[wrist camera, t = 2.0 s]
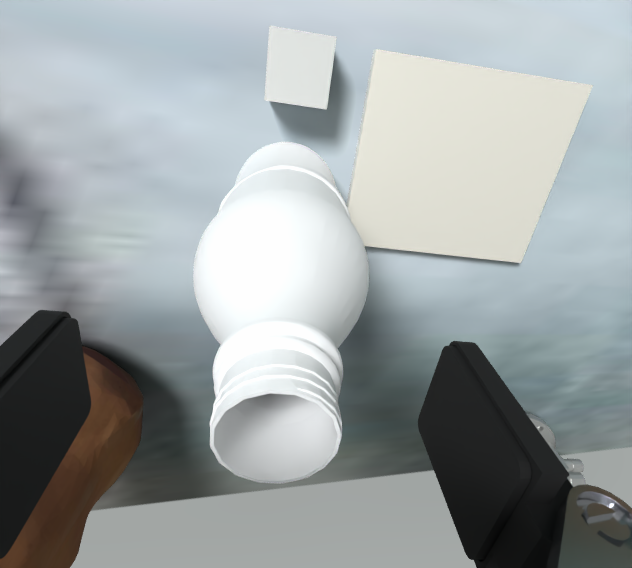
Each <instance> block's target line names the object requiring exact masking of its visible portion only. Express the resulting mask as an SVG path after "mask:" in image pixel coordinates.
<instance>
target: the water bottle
mask: <svg viewBox="0 0 632 568" xmlns="http://www.w3.org/2000/svg"><path fill="white" fill-rule="evenodd" d="M193 283H194V290H195V297H196V300H197V303H198V306H199V308H200V311H201V314H202V316H203V318H204V320H205V322H206V323H207V325H208V327H209V329H210V330H211V332H212V334H213V336H214V337H215V338H216V339H217V341H218V342H219V343H220V345H221V346H220V347H219V349H218V352H217V354H216V356H215V360H214V365H213V381H214V390H215V395H216V400H215V402H214V405H213V413H212V416H211V420H210V447H211V449H212V451H213V452H214V454H215V456H216V458H217V460H218V461H219V463H220V464H222V465H223V466H224V467H226V468H227V469H228V470H230V471H231V472H232V473H234V474H235V475H237V476H240V477H243V478H246V479H249V480H252V481H255V482H259V483H287V482H291V481H296V480H300V479H305V478H307V477H309V476H310V475H312V474H314V473H316V472H318V471H319V470H321V469H323V468H325V466H326V465H327V464H328V463H329V462H330V461H331V459H332V458H333V457H334V456H335V455H336V454H337V452H338V448H339V443H340V440H341V438H342V420H341V413H340V409H339V404H338V398H339V394H340V391H341V384H342V379H343V363H342V359H341V356H340V352H339V350H338V348H339V346H340V345H341V344H342V343H343V341H344V340H345V339H346V338H347V336H348V335H349V333H350V332H351V330H352V329H353V327H354V326H355V324H356V323H357V321H358V319H359V317H360V314H361V312H362V309H363V307H364V305H365V302H366V298H367V293H368V288H369V264H368V258H367V253H366V250H365V247H364V243H363V240H362V238H361V237H360V235H359V233H358V231H357V229H356V227H355V226H354V225H353V224H352V222H351V218H350V214H349V211H348V208H347V206H346V203H345V201H344V199H343V197H342V195H341V194H340V192H339V190H338V189H337V188H336V185H335V181H334V178H333V175H332V173H331V171H330V169H329V167H328V166H327V164H326V163H325V161H324V160H323V159H322V158H321V157H320V156H319V155H318V154H317V153H315V152H314V151H313V150H311V149H310V148H308V147H306V146H304V145H301V144H298V143H294V142H277V143H272V144H269V145H266V146H264V147H262V148H260V149H259V150H258V151H256V152H255V153H254V154H252V155H251V156H250V157H249V159H248V160H247V161H246V162H245V164H244V165H243V167H242V169H241V170H240V172H239V174H238V177H237V180H236V183H235V186H234V187H233V188H232V189H231V190H230V192H229V193H228V194H227V195H226V197H225V198H224V200H223V201H222V203H221V205H220V208H219V211H218V215H217V216H216V217H215V218H214V219H213V220H212V221H211V222H210V224H209V225H208V227H207V228H206V230H205V231H204V233H203V235H202V238H201V240H200V243H199V245H198V248H197V252H196V256H195V259H194V271H193Z"/></svg>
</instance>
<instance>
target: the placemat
mask: <svg viewBox="0 0 632 568" xmlns="http://www.w3.org/2000/svg"><path fill="white" fill-rule="evenodd" d="M592 87H593V85H588V84H582V83H576V82H570V81H564V80H558V79H552V78H546V77H540V76H534V75H528V74H522V73H516V72H510V71H504V70H498V69H492V68H486V67H480V66H474V65H468V64H462V63H456V62H450V61H444V60H438V59H432V58H427V57H421V56H415V55H409V54H403V53H397V52H391V51H385V50H379V49H375V50H373V55H372V61H371V67H370V72H369V78H368V84H367V90H366V95H365V101H364V107H363V113H362V118H361V124H360V130H359V135H358V141H357V147H356V153H355V158H354V164H353V170H352V176H351V181H350V187H349V193H348V199H347V204H346V206H347V208H348V211H349V214H350V218H351V222H352V224H353V225H354V226H355V227H356V229H357V231H358V233H359V235H360V237H361V238H362V240H363V243H364V246H369V247H378V248H388V249H397V250H406V251H415V252H424V253H434V254H443V255H452V256H461V257H470V258H479V259H489V260H498V261H507V262H516V263H521V262H522V259H523V257H524V254H525V252H526V250H527V247H528V245H529V242H530V240H531V237H532V235H533V232H534V230H535V227H536V225H537V222H538V220H539V217H540V215H541V212H542V210H543V208H544V205H545V203H546V200H547V198H548V195H549V193H550V190H551V188H552V185H553V183H554V180H555V178H556V175H557V173H558V171H559V168H560V166H561V163H562V161H563V158H564V156H565V153H566V151H567V148H568V146H569V143H570V141H571V138H572V136H573V133H574V131H575V129H576V126H577V124H578V121H579V119H580V116H581V114H582V111H583V109H584V106H585V104H586V101H587V99H588V96H589V94H590V91H591V89H592Z"/></svg>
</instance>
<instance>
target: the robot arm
mask: <svg viewBox="0 0 632 568" xmlns="http://www.w3.org/2000/svg"><path fill="white" fill-rule="evenodd" d="M90 409H91V396H90V390H89V384H88V379H87V373H86V367H85V361H84V355H83V349H82V343H81V337H80V331H79V325H78V321H77V320H76V319H74V318H71V316H70V315H69V313H67V312H61V311H47V310H39V311H38V312H36V313H35V314H34V315H33V316H32V317H31V318H30V319H28V320H27V321H26V322H25V323H24V324H23V325H22V326H21V327H20V328H19V329H18V330H17V331H16V332H15V333H14V334H13V335H11V336H10V337H9V338H8V339H7V340H6V341H5V342H4V343H3V344H2V345H1V346H0V559H2V558H3V557H5V556H6V554H7V553H8V552H9V550H10V549H11V547H12V546H13V544H14V542H15V541H16V539H17V537H18V535H19V534H20V532H21V530H22V529H23V527H24V525H25V523H26V522H27V520H28V518H29V517H30V515H31V513H32V511H33V510H34V508H35V506H36V505H37V503H38V501H39V499H40V498H41V496H42V494H43V493H44V491H45V489H46V487H47V486H48V484H49V482H50V481H51V479H52V477H53V475H54V474H55V472H56V470H57V469H58V467H59V465H60V463H61V462H62V460H63V458H64V457H65V455H66V453H67V451H68V450H69V448H70V446H71V445H72V443H73V441H74V439H75V438H76V436H77V434H78V433H79V431H80V429H81V427H82V426H83V424H84V422H85V421H86V419H87V417H88V415H89V413H90ZM418 427H419V432H420V434H421V437H422V440H423V442H424V445H425V447H426V450H427V453H428V455H429V458H430V461H431V463H432V466H433V469H434V471H435V473H436V477H437V479H438V482H439V484H440V487H441V490H442V492H443V495H444V497H445V500H446V503H447V506H448V508H449V511H450V514H451V516H452V519H453V521H454V524H455V527H456V529H457V532H458V535H459V537H460V540H461V542H462V545H463V547H464V551H465V553H466V555H467V556H468V558H469V559H471V560H474V562H475V564H476V567H477V568H632V508H631V507H630V506H629V505H628V504H626V503H625V502H624V501H623V500H621V499H620V498H618V497H616V496H615V495H613V494H612V493H610V492H608V491H606V490H603V489H601V488H599V487H595V486H591V485H586V482H585V478H584V477H583V475H582V474H581V473H580V472H583V470H584V465H583V463H582V461H581V460H579V459H563V458H562V457H560V455H559V454H558V452H557V451H556V450H555V446H556V441H555V436H554V434H553V432H552V430H551V429H550V428H549V427H548V425H547V424H546V423H545V422H544V421H543V420H542V419H540V418H539V417H537V416H535V415H532V414H529V413H525V411H524V410H523V408H522V407H521V406H520V404H519V403H518V401H517V400H516V399H515V397H514V396H513V394H512V393H511V392H510V390H509V389H508V388H507V386H506V385H505V383H504V382H503V381H502V379H501V378H500V376H499V375H498V374H497V372H496V371H495V369H494V368H493V367H492V365H491V364H490V362H489V361H488V360H487V358H486V357H485V355H484V354H483V353H482V351H481V350H480V348H479V347H478V346H477V345H476V344H475V343H473V342H460V341H453V342H451V343H450V345H449V346H445V347H444V348H443V350H442V353H441V356H440V359H439V361H438V364H437V367H436V370H435V373H434V376H433V378H432V381H431V384H430V387H429V390H428V392H427V395H426V398H425V401H424V404H423V407H422V409H421V412H420V415H419V419H418Z"/></svg>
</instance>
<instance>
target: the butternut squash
mask: <svg viewBox="0 0 632 568" xmlns="http://www.w3.org/2000/svg"><path fill="white" fill-rule="evenodd" d="M82 349H83V355H84V361H85V367H86V373H87V379H88V384H89V390H90V396H91V409H90V413H89V415H88V417H87V419H86V421H85V422H84V424H83V426H82V427H81V429H80V431H79V433H78V434H77V436H76V438H75V439H74V441H73V443H72V445H71V446H70V448H69V450H68V451H67V453H66V455H65V457H64V458H63V460H62V462H61V463H60V465H59V467H58V469H57V470H56V472H55V474H54V475H53V477H52V479H51V481H50V482H49V484H48V486H47V487H46V489H45V491H44V493H43V494H42V496H41V498H40V499H39V501H38V503H37V505H36V506H35V508H34V510H33V511H32V513H31V515H30V517H29V518H28V520H27V522H26V523H25V525H24V527H23V529H22V530H21V532H20V534H19V535H18V537H17V539H16V541H15V542H14V544H13V546H12V547H11V549H10V550H9V552H8V553H7V554H6V556H5V557H3V558H2V559H0V568H70V567H71V565H72V564H73V562H74V561H75V558H76V556H77V554H78V551H79V547H80V543H81V539H82V535H83V531H84V527H85V523H86V519H87V517H88V514H89V512H90V511H91V509H92V507H93V506H94V504H95V503H96V502H97V501H98V500H99V498H100V497H101V496H102V495H103V494H104V493H105V492H106V491H107V490H108V489H109V488H110V487H111V486H112V485H113V484H114V483H115V481H116V480H117V479H118V478H119V476H120V475H121V474H122V473H123V471H124V470H125V468H126V466H127V465H128V463H129V461H130V459H131V458H132V456H133V454H134V452H135V451H136V449H137V447H138V445H139V443H140V439H141V430H142V416H143V395H142V393H141V391H140V389H139V387H138V385H137V383H136V381H135V380H134V379H133V377H132V376H131V375H130V374H128V373H127V372H126V371H125V370H123V369H122V368H121V367H119V366H118V365H116V364H115V363H114V362H112V361H111V360H110V359H108V358H107V357H105V356H103V355H102V354H100V353H98V352H97V351H95V350H93V349H90V348H87V347H84V346H82Z"/></svg>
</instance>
